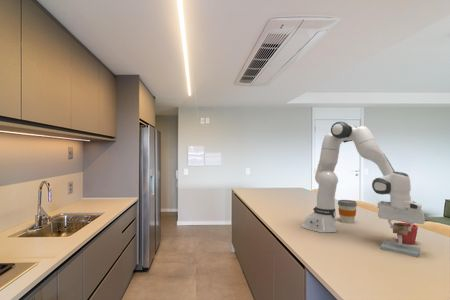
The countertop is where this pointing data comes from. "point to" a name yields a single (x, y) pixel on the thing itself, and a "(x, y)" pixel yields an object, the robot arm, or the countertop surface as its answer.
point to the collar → (400, 228)
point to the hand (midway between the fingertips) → (400, 229)
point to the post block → (400, 247)
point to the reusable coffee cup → (347, 210)
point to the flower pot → (409, 234)
